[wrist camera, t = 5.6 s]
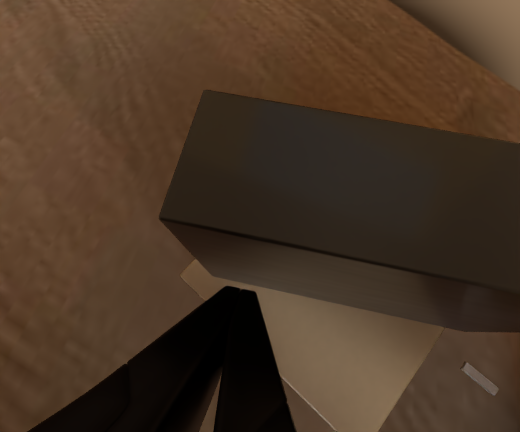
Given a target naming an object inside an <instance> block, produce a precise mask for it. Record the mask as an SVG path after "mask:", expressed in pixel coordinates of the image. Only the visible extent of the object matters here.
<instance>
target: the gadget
mask: <svg viewBox="0 0 520 432" xmlns="http://www.w3.org/2000/svg"><path fill="white" fill-rule="evenodd" d="M159 220H160V221H161V222H162V223H163V224H164V225H165V226H166V227H167V228H168V229H169V230H170V231H171V232H172V234H173V235H174V236H175V237H176V238H177V239H178V240H179V241H180V242H181V243H182V244H183V245H184V246H185V248H186V249H187V250H188V251H189V252H190V253H191V254H192V255H193V256H194V257H195V258H196V259H197V260H198V261H199V263H200V264H201V265H202V266H203V267H204V268H205V269H206V270H207V271H208V272H209V273H210V274H211V275H212V276H213V277H218V278H222V279H227V280H232V281H236V282H241V283H245V284H250V285H254V286H259V287H263V288H268V289H273V290H277V291H282V292H286V293H291V294H295V295H300V296H305V297H309V298H314V299H318V300H323V301H327V302H332V303H336V304H341V305H346V306H350V307H355V308H359V309H364V310H368V311H373V312H378V313H382V314H387V315H391V316H396V317H400V318H405V319H409V320H414V321H419V322H423V323H428V324H432V325H437V326H441V327H446V328H451V329H455V330H460V331H464V332H520V143H516V142H510V141H504V140H498V139H492V138H486V137H480V136H475V135H469V134H463V133H457V132H451V131H445V130H439V129H434V128H428V127H422V126H416V125H410V124H404V123H398V122H393V121H387V120H381V119H375V118H369V117H363V116H357V115H351V114H346V113H340V112H334V111H328V110H322V109H316V108H310V107H305V106H299V105H293V104H287V103H281V102H275V101H269V100H264V99H258V98H252V97H246V96H240V95H234V94H228V93H223V92H217V91H211V90H204V91H203V94H202V96H201V99H200V102H199V105H198V108H197V110H196V113H195V116H194V119H193V122H192V124H191V127H190V130H189V133H188V136H187V139H186V141H185V144H184V147H183V150H182V153H181V155H180V158H179V161H178V164H177V167H176V169H175V172H174V175H173V178H172V181H171V184H170V186H169V189H168V192H167V195H166V198H165V200H164V203H163V206H162V209H161V212H160V215H159Z"/></svg>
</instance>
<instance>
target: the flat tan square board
mask: <svg viewBox="0 0 520 432" xmlns="http://www.w3.org/2000/svg"><path fill="white" fill-rule="evenodd" d="M180 277H181V278H182V279H183V280H184V281H185V282H186V283H187V284H188V285H189V286H190V287H191V288H192V289H193V290H194V291H195V292H196V293H197V294H198V295H199V296H200V297H201V298H202V299H203V300H204V301H206V300H208V299H209V298H210V297H212V296H213V295H214V294H216V293H217V292H218V291H219V290H221V289H222V288H223V287H225V286H233V287H237V288H240V290H242V289H247V290H251V291H255V292H256V293H257V296H258V300H259V303H260V307H261V310H262V314H263V317H264V321H265V324H266V328H267V331H268V335H269V338H270V342H271V345H272V349H273V352H274V356H275V359H276V363H277V366H278V370H279V373H280V377H281V378H282V379H283V380H284V381H286V382H287V383H288V384H289V385H290V386H291V387H292V388H293V389H294V390H295V391H296V392H297V393H298V394H299V395H300V396H301V397H302V398H303V399H304V400H305V401H306V402H307V403H308V404H309V405H310V406H311V407H312V408H313V409H314V410H315V411H316V412H317V413H318V414H319V415H320V416H321V417H322V418H323V419H324V420H325V421H326V422H327V423H328V424H329V425H330V426H331V427H332V428H333V429H334V430H335V431H336V432H378V431H379V429H380V427H381V426H382V424H383V423H384V421H385V420H386V418H387V417H388V415H389V414H390V412H391V410H392V409H393V407H394V406H395V404H396V403H397V401H398V400H399V398H400V397H401V395H402V394H403V392H404V390H405V389H406V387H407V386H408V384H409V383H410V381H411V380H412V378H413V377H414V375H415V373H416V372H417V370H418V369H419V367H420V366H421V364H422V363H423V361H424V360H425V358H426V356H427V355H428V353H429V352H430V350H431V349H432V347H433V346H434V344H435V343H436V341H437V339H438V338H439V336H440V335H441V333H442V332H443V330H444V329H445V327H441V326H437V325H432V324H428V323H423V322H419V321H414V320H409V319H405V318H400V317H396V316H391V315H387V314H382V313H378V312H373V311H368V310H364V309H359V308H355V307H350V306H346V305H341V304H336V303H332V302H327V301H323V300H318V299H314V298H309V297H305V296H300V295H295V294H291V293H286V292H282V291H277V290H273V289H268V288H263V287H259V286H254V285H250V284H245V283H241V282H236V281H232V280H227V279H222V278H218V277H213V276H212V275H211V274H210V273H209V272H208V271H207V270H206V269H205V268H204V267H203V266H202V265H201V264H200V263H199V261H198V260H197V259H195V260H194V261H193V262H192V263H191V264H190V265H189V266H188V267H187V268H186V269H185V270H184V271H183V272H182V273H181V274H180ZM460 369H461V370H462V371H464V372H465V373H466V374H467V375H468V376H470V377H471V378H472V379H473V380H474V381H476V382H477V383H478V384H479V385H480V386H482V387H483V388H484V389H485V390H486V391H488V392H489V393H490V394H491V395H493V396H495V395H496V393H497V391H498V389H499V388H498V387H497V386H496V385H494V384H493V383H492V382H491V381H489V380H488V379H487V378H486V377H485V376H483V375H482V374H481V373H480V372H478V371H477V370H476V369H475V368H474V367H472V366H471V365H470V364H469V363H468V362H464V363H463V365H462V367H461V368H460Z"/></svg>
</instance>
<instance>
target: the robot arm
mask: <svg viewBox="0 0 520 432" xmlns="http://www.w3.org/2000/svg"><path fill="white" fill-rule="evenodd" d="M221 373H222V375H221ZM220 376H221V382H220V389H219V396H218V403H217V410H216V417H215V424H214V431H213V432H297V431H296V428H295V425H294V422H293V418H292V415H291V411H290V408H289V405H288V403H287V398H286V395H285V391H284V388H283V384H282V381H281V377H280V373H279V370H278V366H277V363H276V359H275V356H274V352H273V349H272V345H271V342H270V338H269V335H268V331H267V328H266V324H265V321H264V317H263V314H262V310H261V307H260V303H259V300H258V296H257V293H256V292H255V291H251V290H247V289H242V290H240V288H237V287H233V286H225V287H223V288H222V289H221V290H219V291H218V292H217V293H216V294H214V295H213V296H212V297H210V298H209V299H208V300H206V301H205V302H204V303H203V304H201V305H200V306H199V307H197V308H196V309H195V310H194V311H192V312H191V313H190V314H188V315H187V316H186V317H185V318H183V319H182V320H181V321H179V322H178V323H177V324H176V325H174V326H173V327H172V328H170V329H169V330H168V331H166V332H165V333H164V334H163V335H161V336H160V337H159V338H157V339H156V340H155V341H154V342H152V343H151V344H150V345H148V346H147V347H146V348H145V349H143V350H142V351H141V352H139V353H138V354H137V355H136V356H134V357H133V358H132V359H130V360H129V361H128V362H127V364H124V365H122V366H121V367H120V368H118V369H117V370H116V371H115V372H113V373H112V374H111V375H109V376H108V377H107V378H105V379H104V380H103V381H101V382H100V383H99V384H97V385H96V386H94V387H93V388H92V389H90V390H89V391H88V392H86V393H85V394H83V395H82V396H80V397H79V398H78V399H76V400H75V401H73V402H72V403H70V404H69V405H67V406H66V407H64V408H63V409H61V410H60V411H58V412H57V413H55V414H54V415H52V416H51V417H49V418H47V419H46V420H44V421H43V422H41V423H40V424H38V425H37V426H35V427H33V428H32V429H30V430H29V431H27V432H199V430H200V427H201V425H202V422H203V420H204V417H205V415H206V412H207V410H208V407H209V405H210V402H211V400H212V397H213V394H214V392H215V389H216V387H217V384H218V382H219V379H220Z"/></svg>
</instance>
